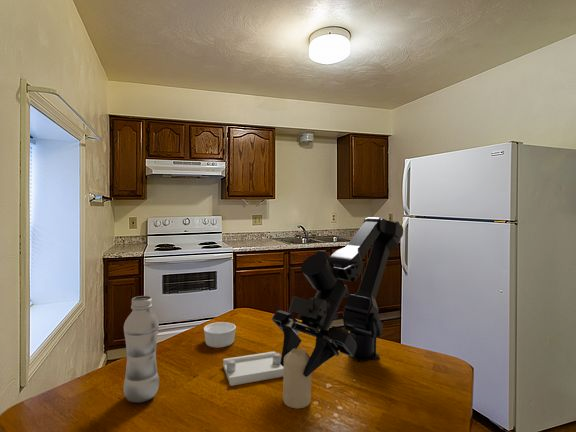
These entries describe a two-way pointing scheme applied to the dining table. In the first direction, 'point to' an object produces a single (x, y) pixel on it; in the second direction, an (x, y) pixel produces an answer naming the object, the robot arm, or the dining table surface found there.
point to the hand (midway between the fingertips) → (292, 370)
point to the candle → (296, 379)
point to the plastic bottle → (141, 351)
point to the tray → (253, 368)
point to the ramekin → (219, 334)
